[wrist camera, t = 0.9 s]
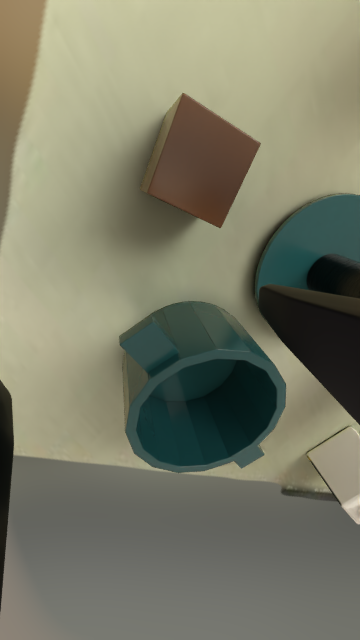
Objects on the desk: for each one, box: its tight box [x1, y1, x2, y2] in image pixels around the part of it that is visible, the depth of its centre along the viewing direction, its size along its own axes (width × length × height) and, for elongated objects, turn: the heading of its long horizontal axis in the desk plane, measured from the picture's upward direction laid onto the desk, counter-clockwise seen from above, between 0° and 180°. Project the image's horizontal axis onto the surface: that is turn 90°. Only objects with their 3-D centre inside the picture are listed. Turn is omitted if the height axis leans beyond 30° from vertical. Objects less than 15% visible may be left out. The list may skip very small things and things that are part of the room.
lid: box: [255, 194, 360, 324], centre depth 21 cm, size 12×12×7 cm
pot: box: [119, 301, 286, 473], centre depth 22 cm, size 11×17×7 cm
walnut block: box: [140, 93, 260, 228], centre depth 16 cm, size 5×5×5 cm
